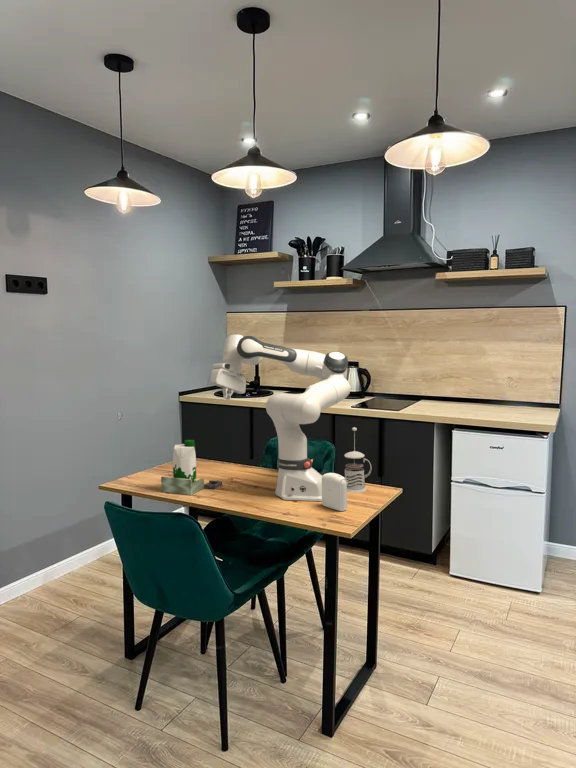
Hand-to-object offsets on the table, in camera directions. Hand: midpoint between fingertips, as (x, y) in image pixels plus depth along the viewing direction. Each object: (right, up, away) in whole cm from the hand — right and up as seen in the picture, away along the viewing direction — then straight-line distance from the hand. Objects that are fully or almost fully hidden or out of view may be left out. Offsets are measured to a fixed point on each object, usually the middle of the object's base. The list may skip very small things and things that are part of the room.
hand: (226, 399), depth 236 cm
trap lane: (-14, -36, -20) cm, 43 cm away
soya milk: (-14, -36, -23) cm, 45 cm away
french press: (+55, -36, -24) cm, 70 cm away
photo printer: (+44, -38, -48) cm, 75 cm away
